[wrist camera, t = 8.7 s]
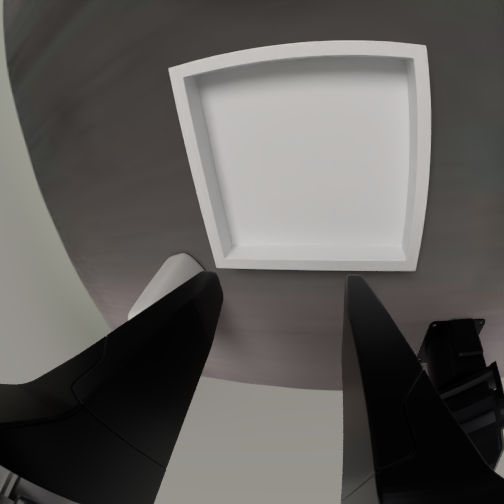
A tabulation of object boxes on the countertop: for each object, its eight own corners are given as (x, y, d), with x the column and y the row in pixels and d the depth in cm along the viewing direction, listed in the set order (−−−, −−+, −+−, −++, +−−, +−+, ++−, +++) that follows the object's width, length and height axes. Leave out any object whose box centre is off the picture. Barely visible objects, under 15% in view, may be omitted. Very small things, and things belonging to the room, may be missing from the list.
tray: (408, 250, 19) (415, 270, 17) (226, 249, 23) (216, 267, 21) (413, 48, 11) (425, 45, 10) (186, 67, 15) (168, 68, 14)
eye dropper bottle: (175, 293, 28) (115, 394, 18) (168, 247, 25) (88, 354, 15) (217, 304, 27) (165, 415, 18) (215, 256, 24) (146, 380, 14)
